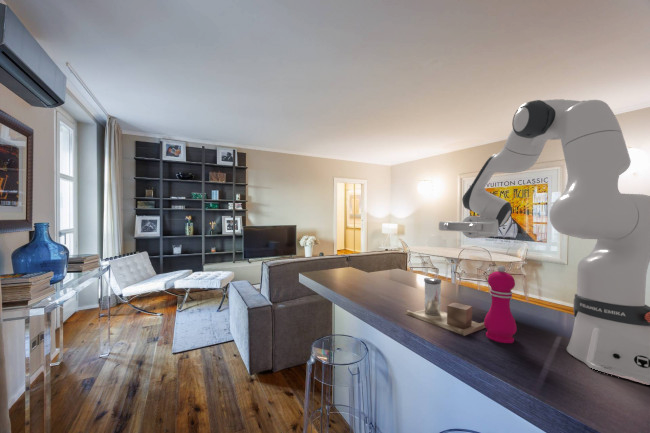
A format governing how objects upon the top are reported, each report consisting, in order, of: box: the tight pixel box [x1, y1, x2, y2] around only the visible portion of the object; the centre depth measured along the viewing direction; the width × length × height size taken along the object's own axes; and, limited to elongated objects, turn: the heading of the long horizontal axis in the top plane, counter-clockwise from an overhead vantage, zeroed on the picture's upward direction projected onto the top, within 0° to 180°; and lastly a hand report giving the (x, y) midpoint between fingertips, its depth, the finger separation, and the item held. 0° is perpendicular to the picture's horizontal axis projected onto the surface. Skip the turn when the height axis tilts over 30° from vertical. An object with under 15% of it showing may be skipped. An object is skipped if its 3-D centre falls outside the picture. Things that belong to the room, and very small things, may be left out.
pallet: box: [405, 308, 486, 336], centre depth 84 cm, size 19×13×2 cm
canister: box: [423, 277, 442, 316], centre depth 90 cm, size 5×5×11 cm
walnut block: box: [446, 301, 473, 330], centre depth 79 cm, size 5×5×6 cm
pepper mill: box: [483, 265, 518, 344], centre depth 72 cm, size 7×7×20 cm
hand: (457, 226), depth 100 cm, fingers open, 8 cm apart
